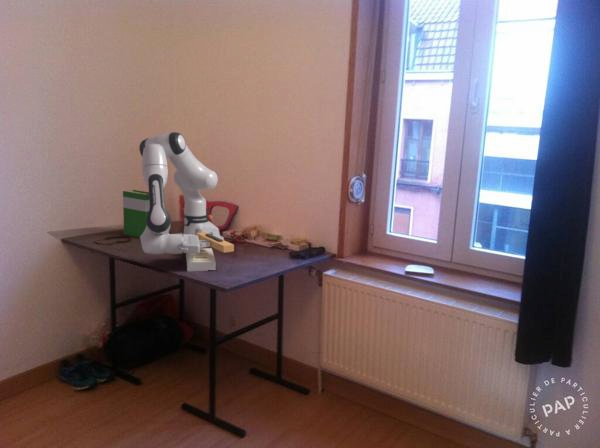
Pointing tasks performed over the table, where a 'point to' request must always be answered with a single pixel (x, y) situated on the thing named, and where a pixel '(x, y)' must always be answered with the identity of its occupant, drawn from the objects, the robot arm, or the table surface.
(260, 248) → the table surface
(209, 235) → the light wooden bar
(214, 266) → the two-drawer filing cabinet
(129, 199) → the hardback book
